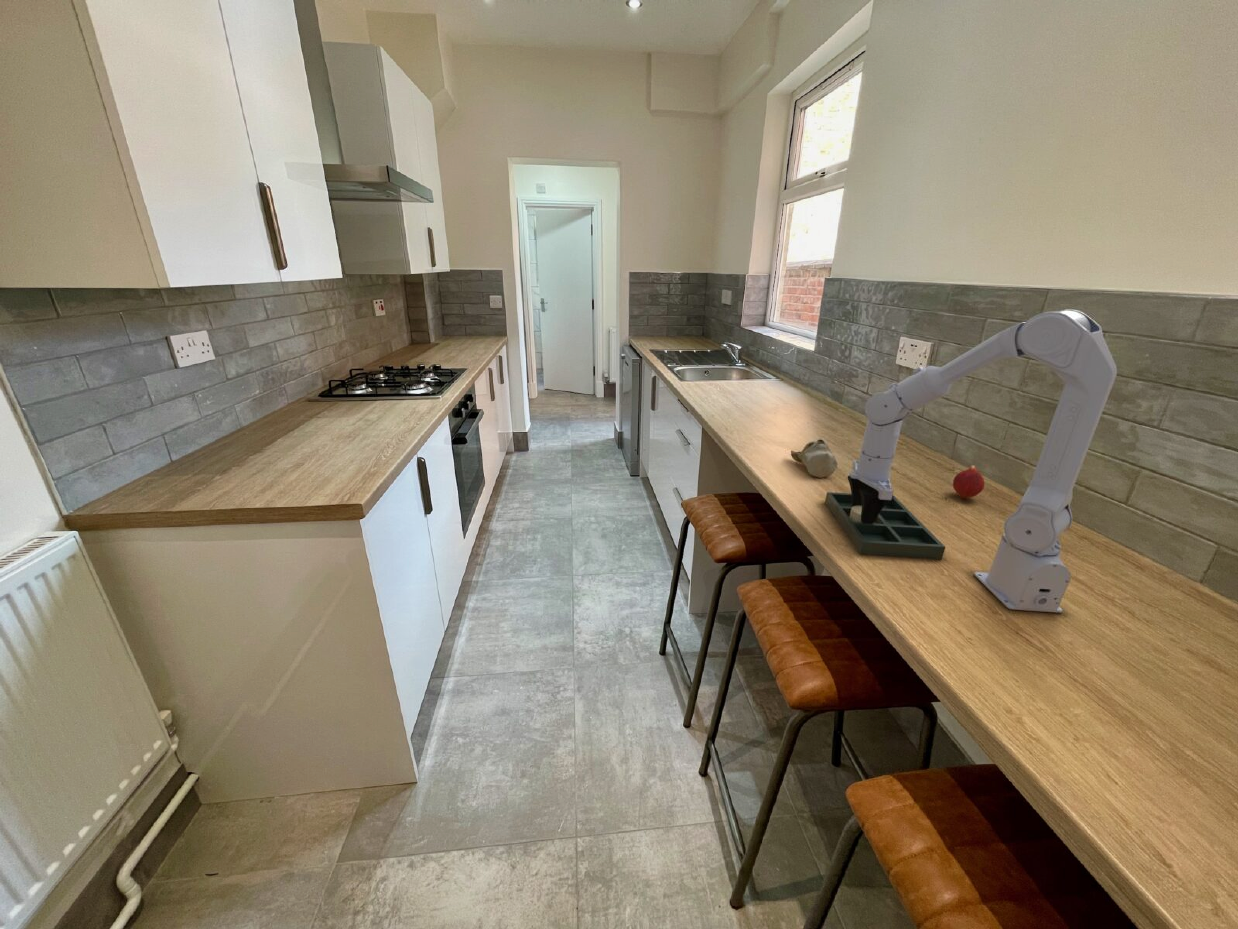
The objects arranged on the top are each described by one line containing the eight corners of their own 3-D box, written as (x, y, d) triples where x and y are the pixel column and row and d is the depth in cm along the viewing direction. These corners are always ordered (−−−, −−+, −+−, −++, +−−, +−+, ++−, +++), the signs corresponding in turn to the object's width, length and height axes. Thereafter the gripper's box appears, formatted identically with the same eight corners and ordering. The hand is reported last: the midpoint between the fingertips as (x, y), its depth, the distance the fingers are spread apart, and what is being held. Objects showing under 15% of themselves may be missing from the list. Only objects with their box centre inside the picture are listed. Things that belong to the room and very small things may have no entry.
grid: (941, 559, 88) (945, 547, 87) (860, 554, 89) (862, 542, 88) (891, 506, 108) (894, 495, 107) (824, 502, 109) (826, 492, 108)
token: (876, 529, 96) (880, 516, 95) (853, 528, 97) (856, 515, 96) (867, 519, 100) (870, 506, 99) (845, 517, 101) (848, 504, 100)
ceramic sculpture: (806, 445, 117) (791, 430, 131) (800, 479, 120) (787, 460, 134) (851, 448, 116) (832, 432, 130) (845, 482, 119) (827, 463, 133)
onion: (983, 505, 109) (994, 472, 106) (955, 502, 110) (965, 469, 107) (971, 494, 115) (982, 462, 112) (944, 491, 116) (954, 460, 113)
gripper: (842, 439, 100) (830, 499, 105) (870, 466, 86) (854, 533, 92) (878, 441, 99) (864, 501, 104) (911, 468, 86) (893, 535, 91)
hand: (862, 516), depth 98 cm, fingers closed on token, 4 cm apart
